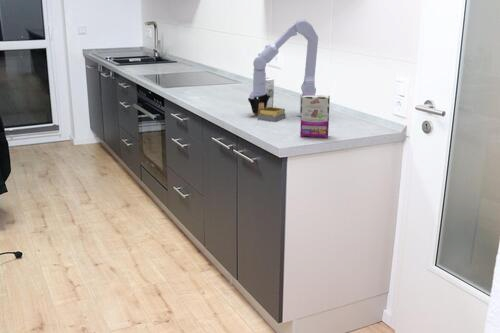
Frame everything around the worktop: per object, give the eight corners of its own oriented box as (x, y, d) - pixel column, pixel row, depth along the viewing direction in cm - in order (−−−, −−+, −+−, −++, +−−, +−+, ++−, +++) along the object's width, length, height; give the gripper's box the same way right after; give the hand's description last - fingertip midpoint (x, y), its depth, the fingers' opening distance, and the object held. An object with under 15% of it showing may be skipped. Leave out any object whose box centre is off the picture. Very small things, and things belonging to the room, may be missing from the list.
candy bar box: (328, 135, 229) (330, 95, 224) (327, 138, 224) (329, 97, 219) (300, 134, 231) (302, 94, 226) (299, 136, 226) (301, 96, 221)
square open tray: (285, 117, 260) (285, 108, 258) (275, 121, 251) (275, 112, 250) (268, 115, 264) (268, 106, 263) (257, 119, 256) (257, 110, 255)
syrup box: (264, 105, 286) (264, 77, 282) (273, 107, 283) (274, 78, 278) (257, 107, 282) (257, 78, 278) (266, 109, 278) (267, 79, 274)
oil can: (265, 114, 266) (265, 99, 264) (260, 116, 262) (261, 100, 260) (257, 113, 268) (257, 98, 266) (252, 115, 265) (252, 99, 262)
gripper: (259, 80, 269) (259, 108, 273) (243, 84, 257) (243, 113, 261) (272, 81, 265) (272, 109, 269) (257, 85, 253) (256, 115, 257)
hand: (259, 111), depth 265 cm, fingers open, 7 cm apart
